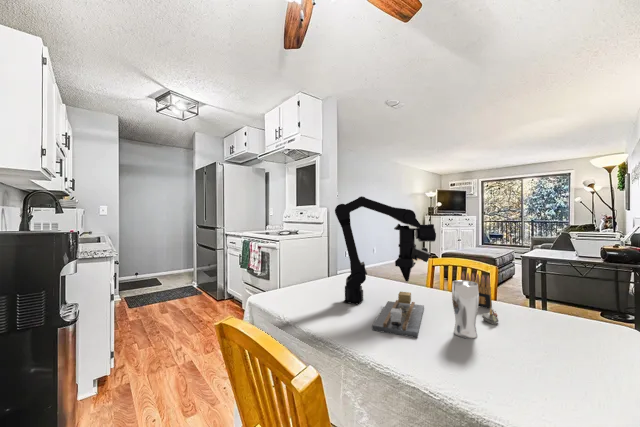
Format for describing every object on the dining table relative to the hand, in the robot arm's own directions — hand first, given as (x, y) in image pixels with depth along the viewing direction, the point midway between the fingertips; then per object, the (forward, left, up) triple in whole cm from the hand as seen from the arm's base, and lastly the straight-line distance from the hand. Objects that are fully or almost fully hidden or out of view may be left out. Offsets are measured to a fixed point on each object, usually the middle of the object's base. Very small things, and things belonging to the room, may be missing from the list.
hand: (407, 281), depth 111 cm
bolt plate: (0, -18, -9) cm, 20 cm away
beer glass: (+19, -22, -9) cm, 31 cm away
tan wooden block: (0, -7, -6) cm, 10 cm away
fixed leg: (0, -26, -7) cm, 27 cm away
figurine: (+27, -9, -9) cm, 30 cm away
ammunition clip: (+24, +8, -9) cm, 27 cm away
